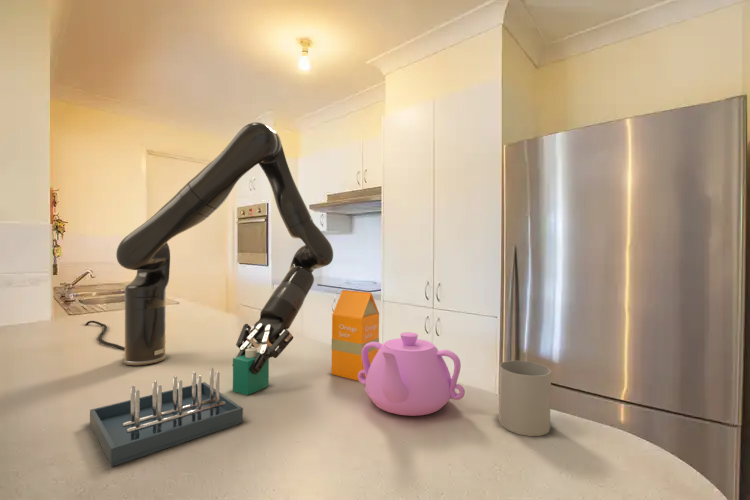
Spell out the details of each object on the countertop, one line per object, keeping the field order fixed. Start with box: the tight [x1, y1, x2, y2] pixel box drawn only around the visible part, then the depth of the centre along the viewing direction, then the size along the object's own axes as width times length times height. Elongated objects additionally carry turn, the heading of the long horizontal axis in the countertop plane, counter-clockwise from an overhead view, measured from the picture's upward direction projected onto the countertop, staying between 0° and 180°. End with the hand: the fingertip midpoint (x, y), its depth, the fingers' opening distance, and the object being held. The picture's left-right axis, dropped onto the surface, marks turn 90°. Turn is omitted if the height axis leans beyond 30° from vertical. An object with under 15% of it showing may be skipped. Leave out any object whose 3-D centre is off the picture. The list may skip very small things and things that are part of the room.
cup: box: [498, 360, 552, 437], centre depth 67 cm, size 8×8×10 cm
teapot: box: [357, 331, 466, 417], centre depth 73 cm, size 22×22×14 cm
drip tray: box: [89, 381, 244, 468], centre depth 66 cm, size 17×19×3 cm
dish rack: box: [123, 367, 225, 441], centre depth 62 cm, size 3×15×9 cm, turn 135°
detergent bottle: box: [232, 347, 270, 396], centre depth 82 cm, size 4×6×8 cm
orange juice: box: [331, 289, 380, 382], centre depth 93 cm, size 8×9×20 cm
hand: (244, 369), depth 80 cm, fingers closed on detergent bottle, 4 cm apart
